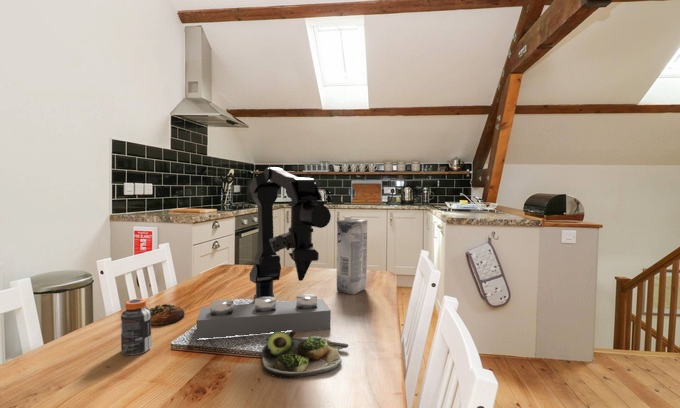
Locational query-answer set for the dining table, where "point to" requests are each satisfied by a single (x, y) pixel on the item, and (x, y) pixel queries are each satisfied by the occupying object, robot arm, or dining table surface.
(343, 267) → the juice carton
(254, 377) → the dining table surface
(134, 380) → the dining table surface
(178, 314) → the bread roll
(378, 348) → the dining table surface
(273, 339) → the salad plate
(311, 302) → the plunger
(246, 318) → the console
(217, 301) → the plunger
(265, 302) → the plunger middle
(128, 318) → the pill bottle
